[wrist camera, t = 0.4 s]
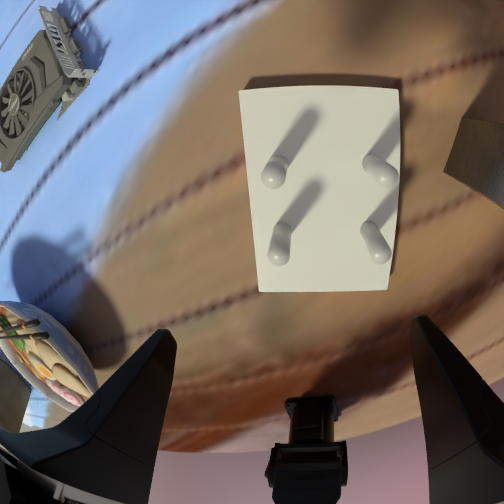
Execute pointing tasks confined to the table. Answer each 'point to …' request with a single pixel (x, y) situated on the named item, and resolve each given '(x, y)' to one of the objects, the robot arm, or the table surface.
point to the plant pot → (12, 399)
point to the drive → (479, 158)
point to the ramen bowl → (46, 354)
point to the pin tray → (322, 185)
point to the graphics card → (39, 86)
